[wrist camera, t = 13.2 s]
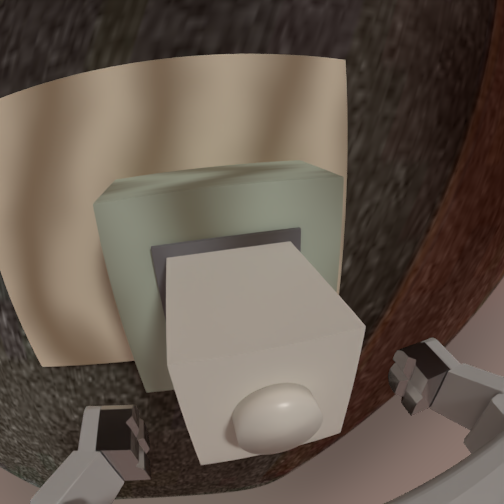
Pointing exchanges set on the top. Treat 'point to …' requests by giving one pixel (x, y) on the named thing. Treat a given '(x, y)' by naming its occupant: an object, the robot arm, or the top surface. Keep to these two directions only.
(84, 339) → the display stand
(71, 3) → the top surface
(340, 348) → the building block
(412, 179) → the top surface
